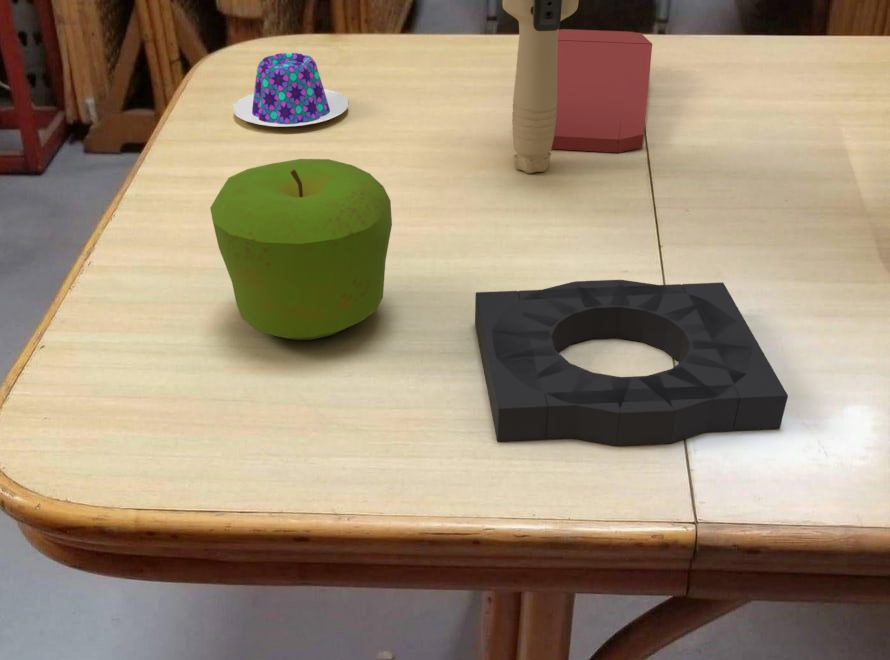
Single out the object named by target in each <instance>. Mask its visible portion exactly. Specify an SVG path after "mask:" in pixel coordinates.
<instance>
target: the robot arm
mask: <svg viewBox="0 0 890 660" xmlns="http://www.w3.org/2000/svg"><path fill="white" fill-rule="evenodd" d="M561 8H562V0H534V4H533V26H534V28H535V30H537V31H556V30H557V29H559V30H560V27H561V22H562V21H561Z"/></svg>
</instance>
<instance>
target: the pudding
mask: <svg viewBox="0 0 890 660" xmlns="http://www.w3.org/2000/svg"><path fill="white" fill-rule="evenodd" d="M254 81H255V82H254V90H253V92H251V93H249V94H247V95H244V96H243V97H241V98H240V99H238V100H237V101H236V102H235V103H234V105H232V108H233V109H232V111H233V114H234V115H235V116H236V117H237V118H239V119H241V120H243V121H245V122H248V123H252V124H256V125H260V126H264V127H265V126H266V127H277V128H278V127H281V128H283V127H284V128H285V127H286V128H288V127H301V126H309V125H315V124H319V123H323V122H327V121H328V120H331V119H333V118H336V117H338V116H340V115H341V114H344V112H346V110H347V109H348V107H349V101H348V99H347V97H345V96H344V95H343V94H341V93H340V92H337V91H335V90H331V89H327V88H324V85H323V82H322V79H321V76H320V72H319V69H318V66H317V63H316V61H315V59H314V58H313V57H312V56H311V55H307V54H306V55H305V54H303V53H301V52H300V53H298V52H291V53H288V52H280V53H276V54H273V55H268V56H265V57H264V58H263V59H262V60H260V62H259V63H258V65H257V68H256V74H255V80H254Z"/></svg>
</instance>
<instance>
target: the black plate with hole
mask: <svg viewBox="0 0 890 660" xmlns="http://www.w3.org/2000/svg"><path fill="white" fill-rule="evenodd" d="M474 297H475V299H474V300H475V305H474V312H475V313H474V325H475V331H476V335H477V340H478V346H479V352H480V358H481V362H482V368H483V373H484V377H485V383H486V389H487V395H488V400H489V405H490V410H491V415H492V420H493V424H494V432H495V436H496V437H495V438H496V441H497V442H511V441H512V442H513V441H515V442H517V441H537V440H562V439H577V440H582V441H587V442H593V443H597V444H598V443H599V444H602V445H608V446H614V447H615V446H616V447H619V446H620V447H622V446H623V447H625V446H642V445H643V446H644V445H663V444H664V445H665V444H667V445H669V444H674V443H676V442H679V441H683V440H686V439H689V438H693V437H696V436H698V435H702V434H704V433H713V432H714V433H715V432H716V433H717V432H732V431H734V432H735V431H737V432H738V431H755V430H756V431H758V430H779V429H781V426H782V422H783V417H784V414H785V409H786V405H787V401H788V398H789V395H788V393H787V391H786V390H785V387H784V386H783V384H782V382H781V381H780V379H779V377H778V375H777V374H776V372H775V370H774V368H773V367H772V365H771V363H770V362H769V360H768V358H767V356H766V354H765V353H764V351H763V350H762V349H763V348H762V347H761V345H760V344H759V342H758V341H757V338H756V336H754V334H753V332H752V330H751V328H750V327H749V325H748V323H747V321H746V319H745V318H744V316H743V314H742V313H741V311H740V310H739V307H738V306H737V304H736V302H735V301H734V298H733V297H732V295H731V293H730V291H729V290H728V287H726V285H725V283H724V282H723V281H721V282H701V283H699V282H698V283H682V284H681V283H678V284H677V283H676V284H673V283H672V284H656V283H655V284H654V283H647V282H641V281H634V280H626V279H600V280H599V279H597V280H576V281H571V282H567V283H563V284H559V285H555V286H550V287H547V288H542V289H528V290H527V289H525V290H524V289H523V290H503V291H502V290H501V291H499V290H498V291H476V292H475V296H474ZM595 339H596V340H598V339H599V340H600V339H622V340H628V341H636V342H641V343H644V344H647V345H649V346H651V347H654V348H656V349H659V350H662V351H664V352H665V353H667V354H668V355H670V356H671V357H672V358H673V359H674V360H675V361H677V362H678V364H676V365H675V366H673V367H672V368H670V369H669V368H668V369H666V370H661V371H658V372H655V373H653V374H649V375H637V376H635V375H633V376H617V375H610V374H604V373H599V372H592V371H590V370H588V369H585V368H583V367H580V366H579V365H576V364H574V363H571V362H570V361H568V360H567V359H566V358H565V357H564V356H563V355H562V354H560V352H562V351H563V350H565V349H566V348H568V347H569V346H570V345H575V344H578V343H582V342H585V341H589V340H595Z"/></svg>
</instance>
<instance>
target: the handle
mask: <svg viewBox="0 0 890 660" xmlns="http://www.w3.org/2000/svg"><path fill="white" fill-rule="evenodd" d="M579 2H580V1H579V0H562V8H561V22H562V21H564V20H565V19H566V18H569V17H570V16H572V15H574V14H575V12H576V11H577V10H578V7H579ZM533 4H534V0H502V9H503V10H504V11H505V12H506V13H507V14H509V16H511V17H513V18H515V20H517V21H518V30H519V31H518V44H517V45H518V46H517V57H516V69H515V80H514V87H513V88H514V89H513V96H512V97H513V98H512V103H513V104H512V116H511V117H512V120H511V121H512V122H511V123H512V141H513V149H514V151H515V154H514V155H513V162H514V167H515V168H516V170H518V171H522V172H525V174H534V173H543V172H545V171H547V169H548V167H549V165H550V161H551V156H552V155H551V154H552V153H551V150H552V149H551V148H552V144H553V139H554V133H555V126H556V117H557V59H558V31H559V30H560V28H559V29H557V30H556V31H537V30H535V28H534V26H533Z"/></svg>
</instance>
